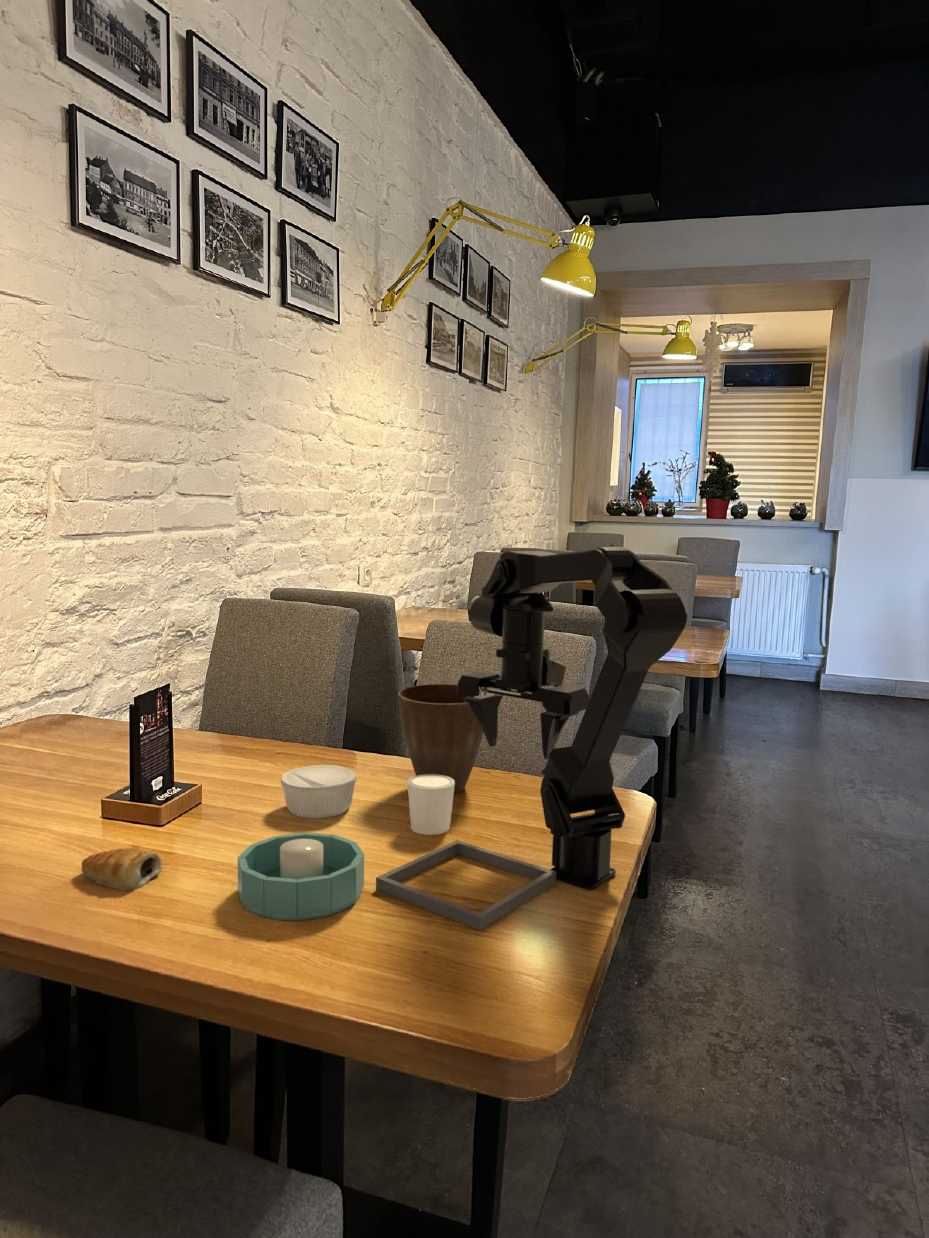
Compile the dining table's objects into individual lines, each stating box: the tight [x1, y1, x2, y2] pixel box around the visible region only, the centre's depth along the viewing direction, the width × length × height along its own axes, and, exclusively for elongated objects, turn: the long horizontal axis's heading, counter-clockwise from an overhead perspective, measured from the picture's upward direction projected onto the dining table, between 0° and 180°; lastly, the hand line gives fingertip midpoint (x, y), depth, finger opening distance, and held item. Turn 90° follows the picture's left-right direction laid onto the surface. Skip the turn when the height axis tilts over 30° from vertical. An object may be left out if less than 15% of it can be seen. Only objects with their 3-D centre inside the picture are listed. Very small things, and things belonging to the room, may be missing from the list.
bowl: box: [237, 832, 365, 922], centre depth 100 cm, size 14×14×4 cm
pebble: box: [280, 839, 323, 879], centre depth 99 cm, size 5×5×5 cm
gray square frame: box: [375, 839, 557, 931], centre depth 102 cm, size 16×16×2 cm
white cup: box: [406, 774, 455, 836], centre depth 121 cm, size 7×7×7 cm
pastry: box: [81, 846, 163, 891], centre depth 103 cm, size 9×7×4 cm
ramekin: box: [280, 764, 357, 819], centre depth 128 cm, size 11×11×5 cm
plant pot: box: [398, 683, 484, 794], centre depth 138 cm, size 15×15×16 cm
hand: (519, 752), depth 118 cm, fingers open, 9 cm apart
